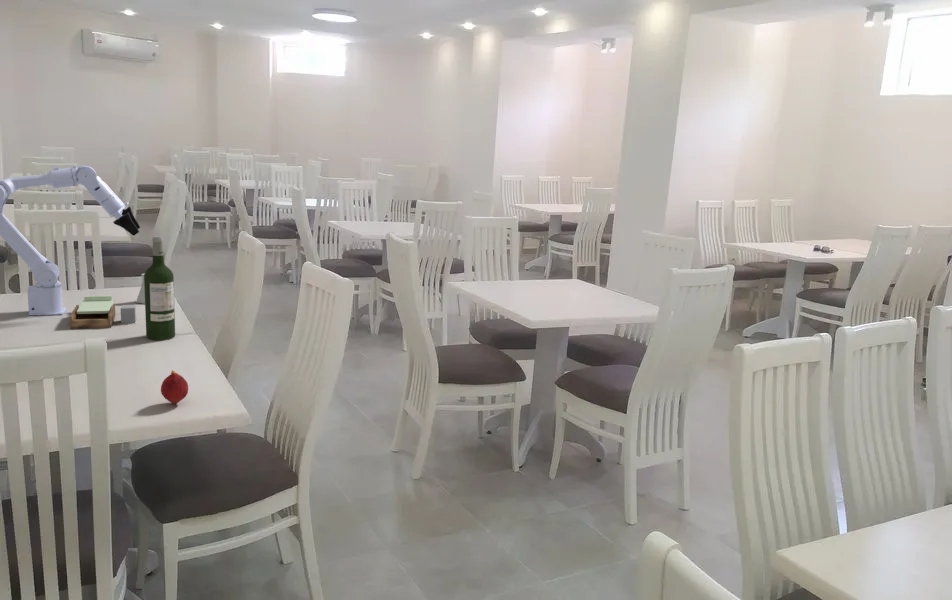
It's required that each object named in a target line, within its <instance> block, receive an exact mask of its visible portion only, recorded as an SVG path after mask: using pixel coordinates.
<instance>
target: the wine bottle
mask: <svg viewBox="0 0 952 600" xmlns="http://www.w3.org/2000/svg"><path fill="white" fill-rule="evenodd" d="M163 242H164V239H163V236H160V235H155V236H152V264H151V265H150V266H149V267H148V268H147V269H146V271H145V272H144V273H145V274H144V273H143V274H144V288H145V304H144V307H145V308H144V309H145V313H144V314H145V333H146V334H145V335H146V339H147V340H150V339H151V340H150V341H166V340H165V339H168V340H171V339H170V338H172V339H173V337H174V338H175V336H176V317H175V314H176V313H175V311H176V310H175V283H174V280H175V279H174V272H173V271H172V270H171V269H170V267H168V266H167V265H166V263H165V256H164V244H163Z"/></svg>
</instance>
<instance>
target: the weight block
mask: <svg viewBox="0 0 952 600" xmlns="http://www.w3.org/2000/svg"><path fill="white" fill-rule="evenodd" d="M136 306H137V305H136V304H123V305H120V324H121V325H123V323H135V322H137V307H136ZM135 324H136V323H135Z"/></svg>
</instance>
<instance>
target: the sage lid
mask: <svg viewBox="0 0 952 600" xmlns="http://www.w3.org/2000/svg"><path fill="white" fill-rule="evenodd" d="M83 298H84V299H83V300H82V301H81V303H80V305H79V308H78V310H77V314H100V313H109V312H110V310H111V308H112V305H113V304H115V302H114V301H115V299H113V295H84V296H83Z"/></svg>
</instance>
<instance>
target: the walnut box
mask: <svg viewBox="0 0 952 600" xmlns="http://www.w3.org/2000/svg"><path fill="white" fill-rule="evenodd" d="M79 307H80V305H79V304H77V305H76V306H74V309H73V310H72V311H71V314H70V315H69V329H70V330H76V329H77V330H80V329H82V330H83V329H106V328H107V329H108V328H109V327H110V328H109V329H111V328H112V326H113V324H112V323H114V321H115V318H116V316H115V315H116V303H113V305H112V308H111V310H110V312H109V313H100V314H77V310H78V308H79Z"/></svg>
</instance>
